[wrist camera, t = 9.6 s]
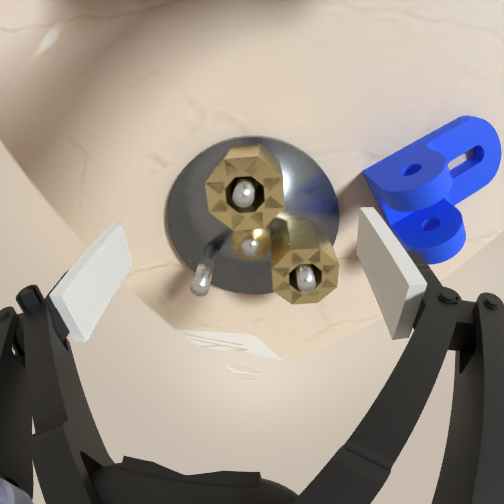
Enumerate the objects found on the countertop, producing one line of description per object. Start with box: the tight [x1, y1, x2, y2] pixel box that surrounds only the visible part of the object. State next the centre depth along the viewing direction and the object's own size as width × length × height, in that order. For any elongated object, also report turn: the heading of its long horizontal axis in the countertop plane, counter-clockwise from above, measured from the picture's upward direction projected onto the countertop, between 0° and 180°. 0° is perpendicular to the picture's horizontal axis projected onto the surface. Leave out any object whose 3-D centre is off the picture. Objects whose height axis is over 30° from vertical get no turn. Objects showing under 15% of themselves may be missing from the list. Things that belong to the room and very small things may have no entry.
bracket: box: [362, 116, 501, 264], centre depth 24 cm, size 18×8×9 cm, turn 124°
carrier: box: [168, 136, 339, 304], centre depth 28 cm, size 18×18×8 cm
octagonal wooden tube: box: [205, 143, 285, 231], centre depth 25 cm, size 6×6×6 cm
